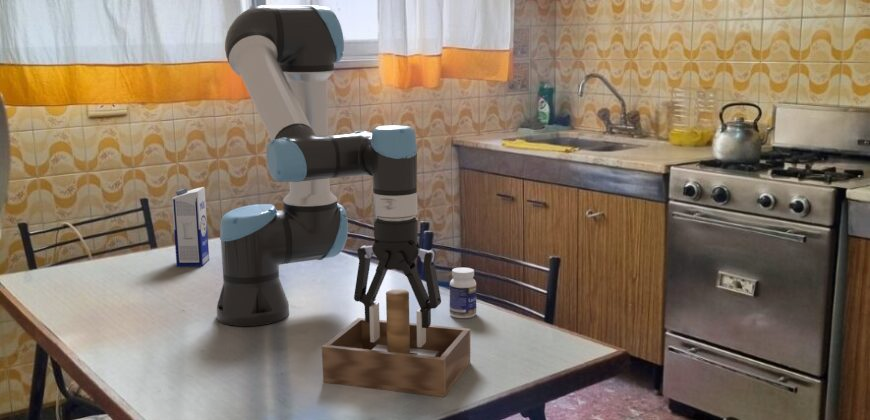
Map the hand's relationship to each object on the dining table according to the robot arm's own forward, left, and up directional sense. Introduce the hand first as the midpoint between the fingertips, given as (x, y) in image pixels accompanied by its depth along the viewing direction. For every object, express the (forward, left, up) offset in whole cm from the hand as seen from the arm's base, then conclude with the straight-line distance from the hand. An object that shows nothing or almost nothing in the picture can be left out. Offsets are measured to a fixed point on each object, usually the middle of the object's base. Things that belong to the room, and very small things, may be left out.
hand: (398, 341), depth 157 cm
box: (0, 0, -6) cm, 6 cm away
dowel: (0, 0, -5) cm, 5 cm away
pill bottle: (+2, +34, -6) cm, 35 cm away
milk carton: (-78, +55, -6) cm, 96 cm away
